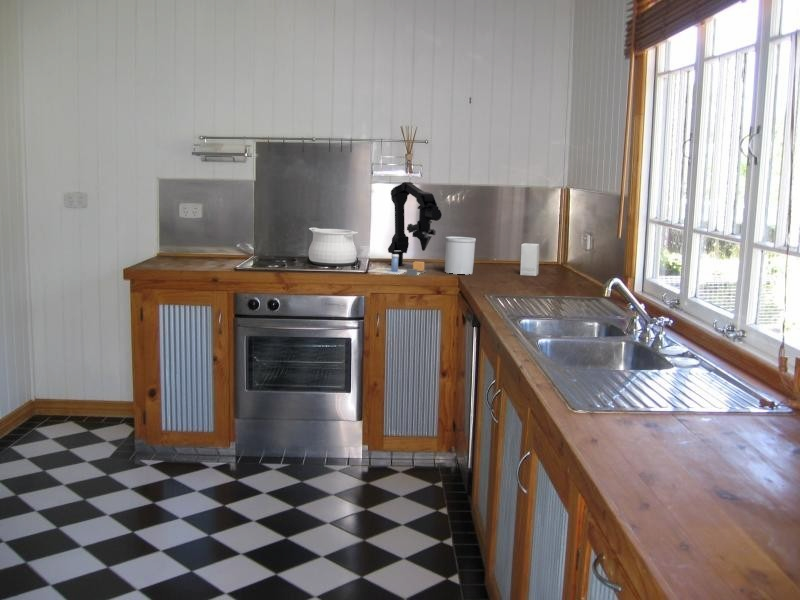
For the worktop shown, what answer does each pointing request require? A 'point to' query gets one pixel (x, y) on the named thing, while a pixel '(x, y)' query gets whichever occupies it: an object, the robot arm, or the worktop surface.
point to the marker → (394, 263)
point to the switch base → (414, 272)
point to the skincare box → (529, 259)
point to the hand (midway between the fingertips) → (423, 250)
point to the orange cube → (418, 265)
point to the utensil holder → (459, 255)
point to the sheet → (387, 271)
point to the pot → (332, 247)
